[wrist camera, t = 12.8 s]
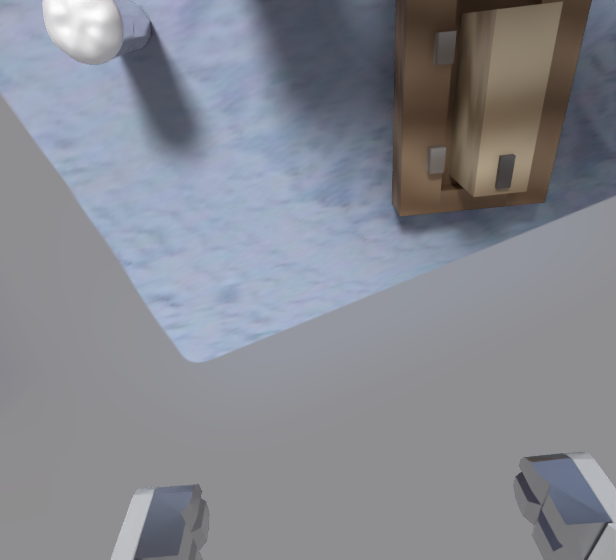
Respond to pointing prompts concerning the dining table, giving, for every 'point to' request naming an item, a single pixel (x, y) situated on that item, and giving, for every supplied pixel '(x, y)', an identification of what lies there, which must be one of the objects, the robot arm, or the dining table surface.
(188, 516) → the robot arm
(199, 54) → the dining table surface
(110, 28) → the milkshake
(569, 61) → the frame
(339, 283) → the dining table surface
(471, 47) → the door
